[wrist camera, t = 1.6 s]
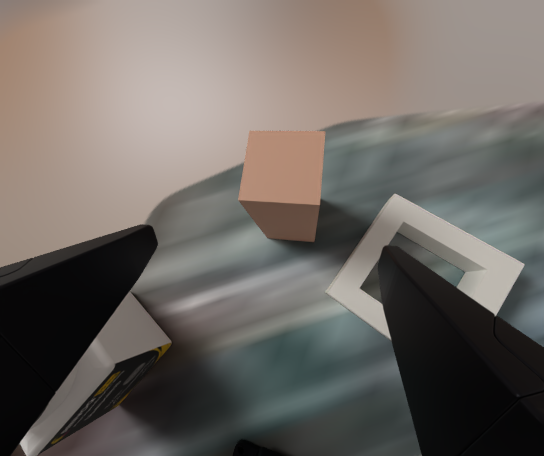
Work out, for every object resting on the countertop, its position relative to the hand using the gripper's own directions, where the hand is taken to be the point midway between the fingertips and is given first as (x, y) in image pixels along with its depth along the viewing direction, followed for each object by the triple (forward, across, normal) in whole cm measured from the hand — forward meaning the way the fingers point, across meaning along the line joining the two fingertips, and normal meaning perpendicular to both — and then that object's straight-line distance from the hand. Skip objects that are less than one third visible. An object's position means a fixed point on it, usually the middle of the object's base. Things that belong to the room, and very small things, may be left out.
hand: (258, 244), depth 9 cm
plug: (+13, 0, +6) cm, 14 cm away
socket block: (+10, -10, +9) cm, 17 cm away
